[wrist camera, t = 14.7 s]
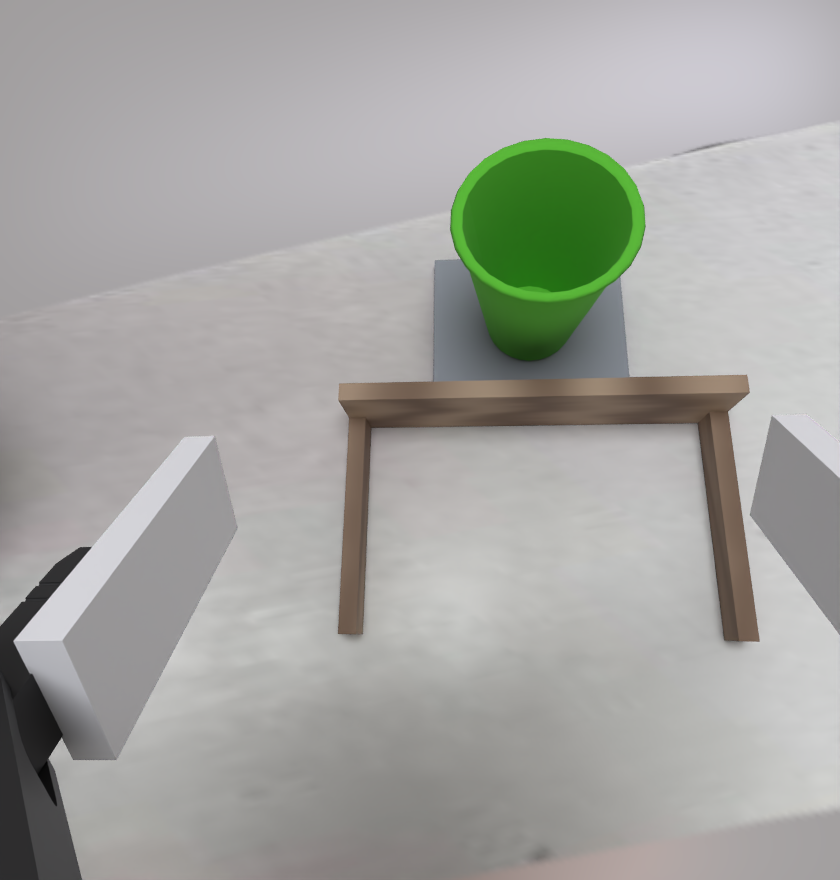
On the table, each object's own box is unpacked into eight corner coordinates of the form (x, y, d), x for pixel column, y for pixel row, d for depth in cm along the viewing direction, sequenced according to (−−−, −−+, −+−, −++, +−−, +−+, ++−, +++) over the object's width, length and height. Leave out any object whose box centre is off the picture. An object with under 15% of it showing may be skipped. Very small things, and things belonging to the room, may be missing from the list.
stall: (345, 633, 35) (324, 634, 31) (356, 413, 39) (339, 383, 35) (743, 640, 33) (787, 642, 29) (713, 407, 37) (747, 374, 32)
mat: (434, 404, 39) (433, 399, 38) (435, 267, 42) (434, 260, 41) (627, 400, 38) (630, 396, 37) (615, 259, 41) (617, 253, 40)
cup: (573, 412, 37) (609, 327, 27) (435, 362, 39) (419, 264, 28) (620, 289, 39) (672, 165, 29) (488, 247, 41) (491, 117, 31)
